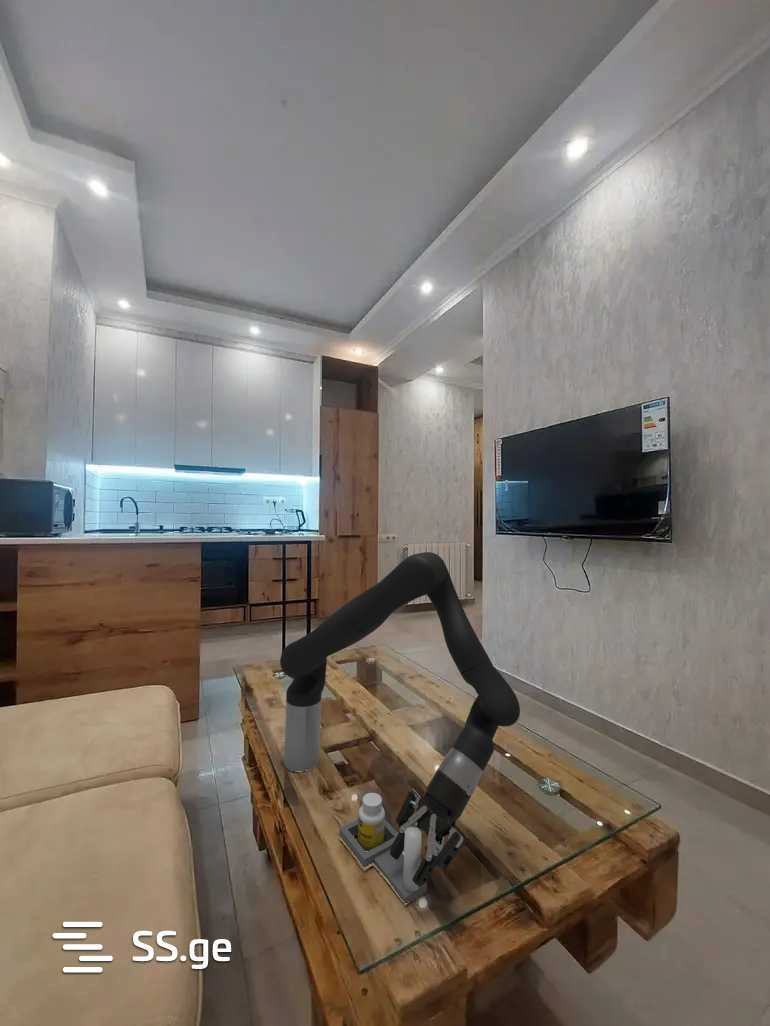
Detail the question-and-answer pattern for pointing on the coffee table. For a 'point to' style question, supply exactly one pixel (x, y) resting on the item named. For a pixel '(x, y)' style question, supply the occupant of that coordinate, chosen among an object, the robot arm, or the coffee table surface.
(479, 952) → the coffee table surface
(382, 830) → the supplement bottle
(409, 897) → the grey square holder tray
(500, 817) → the coffee table surface
